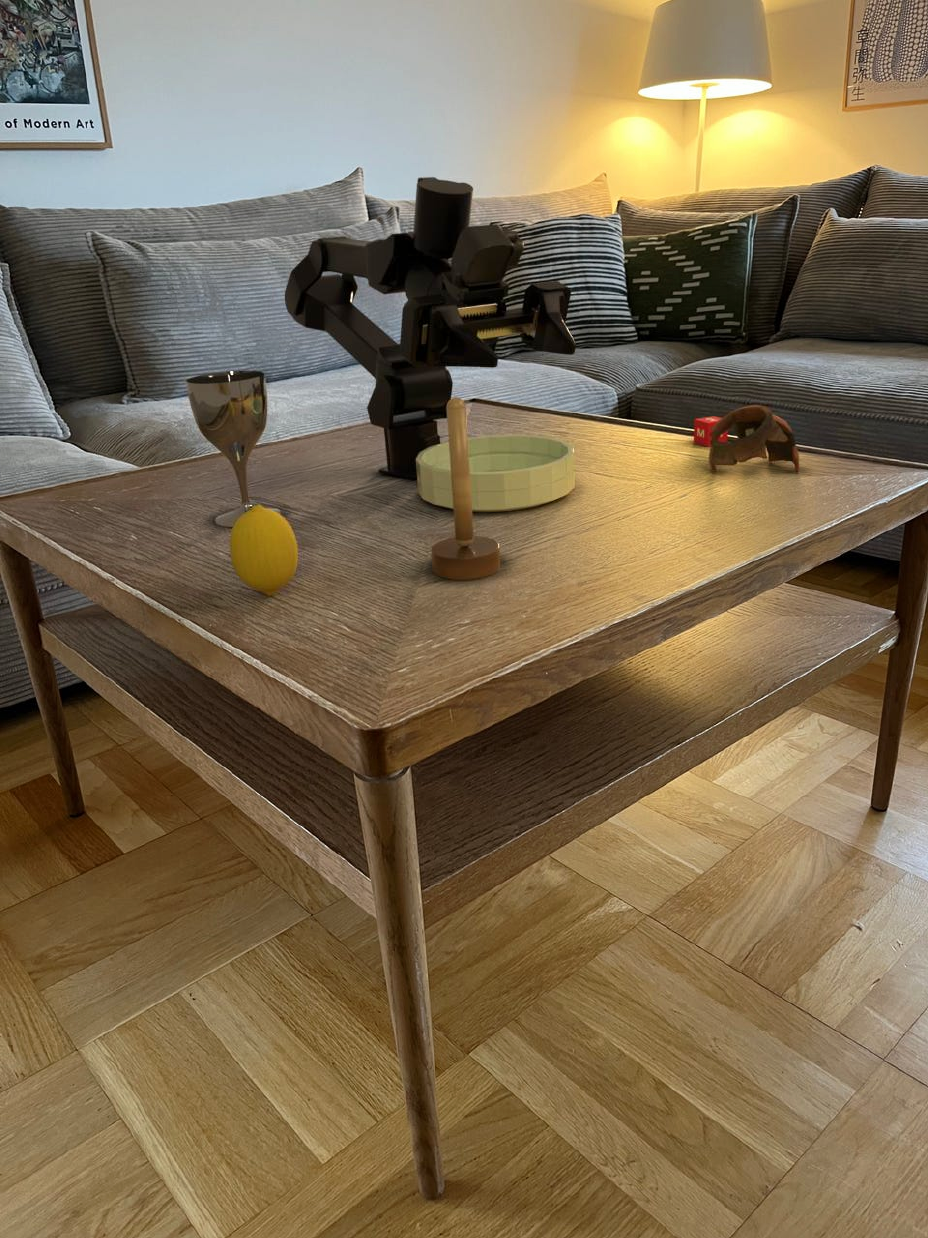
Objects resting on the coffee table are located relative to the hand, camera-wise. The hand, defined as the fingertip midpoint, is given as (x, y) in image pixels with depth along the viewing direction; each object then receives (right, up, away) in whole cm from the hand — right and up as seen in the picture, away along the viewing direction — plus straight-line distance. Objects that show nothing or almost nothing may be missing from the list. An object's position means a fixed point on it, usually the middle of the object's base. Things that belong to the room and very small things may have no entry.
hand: (536, 355), depth 86 cm
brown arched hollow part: (+26, -8, +19) cm, 33 cm away
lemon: (-23, -23, -8) cm, 34 cm away
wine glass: (-30, -14, +13) cm, 36 cm away
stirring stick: (-7, -20, -5) cm, 22 cm away
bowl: (-3, -11, +16) cm, 20 cm away
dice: (+25, -3, +31) cm, 40 cm away
